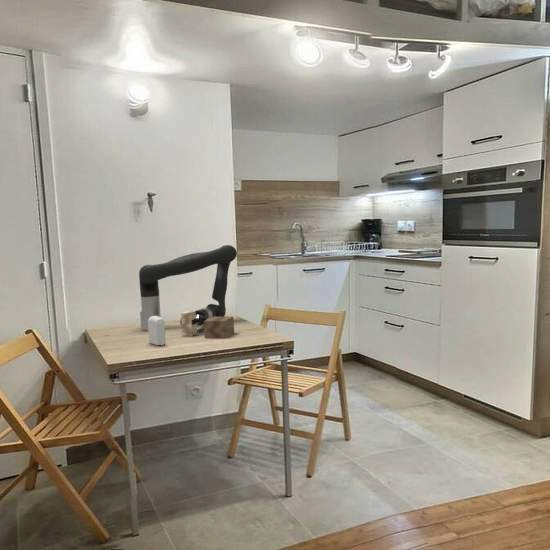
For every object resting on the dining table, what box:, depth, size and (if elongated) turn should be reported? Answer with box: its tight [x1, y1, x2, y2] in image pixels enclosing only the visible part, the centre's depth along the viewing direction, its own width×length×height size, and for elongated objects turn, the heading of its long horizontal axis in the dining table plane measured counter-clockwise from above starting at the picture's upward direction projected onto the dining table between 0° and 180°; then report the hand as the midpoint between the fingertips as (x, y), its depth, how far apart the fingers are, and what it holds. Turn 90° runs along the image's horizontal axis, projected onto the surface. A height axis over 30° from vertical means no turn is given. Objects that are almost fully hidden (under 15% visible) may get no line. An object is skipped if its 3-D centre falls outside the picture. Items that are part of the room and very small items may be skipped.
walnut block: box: [203, 316, 235, 339], centre depth 217 cm, size 10×12×8 cm
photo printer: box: [148, 316, 167, 346], centre depth 204 cm, size 10×4×12 cm, turn 39°
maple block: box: [180, 310, 198, 337], centre depth 221 cm, size 5×5×11 cm
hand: (186, 322), depth 218 cm, fingers closed on maple block, 5 cm apart
